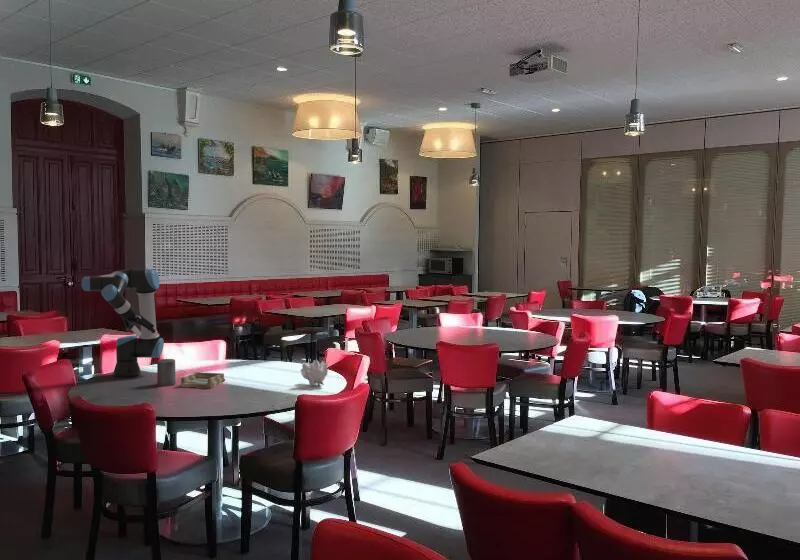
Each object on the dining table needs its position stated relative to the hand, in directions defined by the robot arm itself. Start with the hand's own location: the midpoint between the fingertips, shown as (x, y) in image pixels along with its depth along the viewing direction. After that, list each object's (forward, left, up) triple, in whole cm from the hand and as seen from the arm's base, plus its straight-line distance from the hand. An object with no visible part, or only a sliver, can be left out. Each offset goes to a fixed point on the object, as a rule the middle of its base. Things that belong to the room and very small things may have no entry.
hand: (148, 335), depth 361 cm
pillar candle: (-10, +5, -29) cm, 31 cm away
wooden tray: (-14, +25, -29) cm, 40 cm away
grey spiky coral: (-23, +86, -29) cm, 93 cm away
